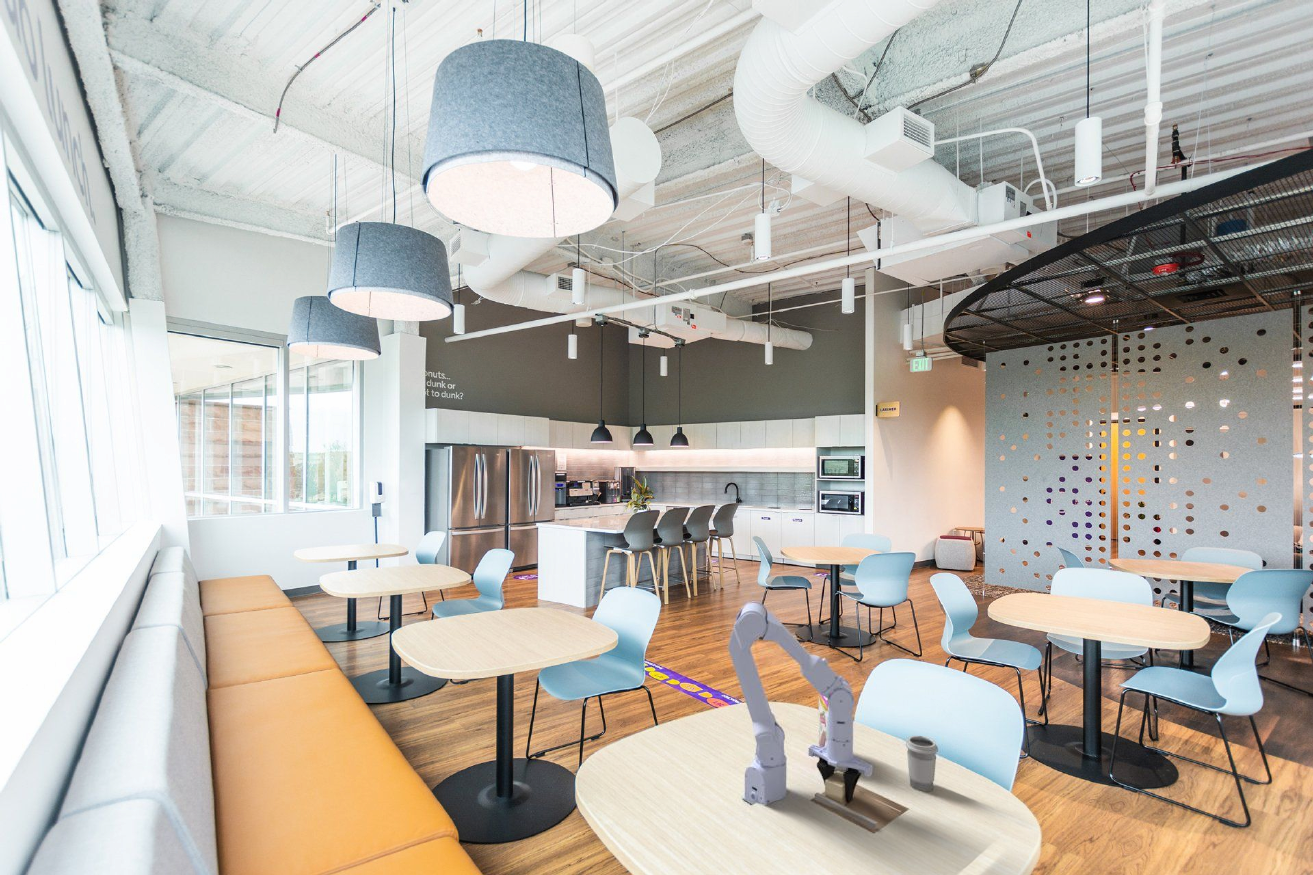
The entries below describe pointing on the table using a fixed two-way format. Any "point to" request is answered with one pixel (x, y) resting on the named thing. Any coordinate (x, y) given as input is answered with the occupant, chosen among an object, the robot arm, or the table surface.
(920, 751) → the cup
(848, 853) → the table surface
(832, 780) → the block
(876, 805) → the walnut board
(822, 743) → the candy bar box
